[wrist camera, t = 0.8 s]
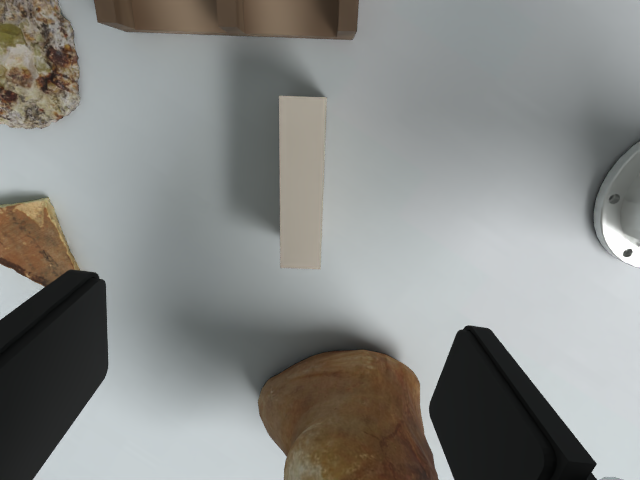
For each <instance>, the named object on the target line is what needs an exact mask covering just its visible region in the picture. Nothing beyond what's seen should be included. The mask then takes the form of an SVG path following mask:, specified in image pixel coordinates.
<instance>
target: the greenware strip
mask: <svg viewBox="0 0 640 480" xmlns="http://www.w3.org/2000/svg"><path fill="white" fill-rule="evenodd" d="M326 103H327V97H303V96H279V158H280V268H299V269H320V267H321V239H322V212H323V185H324V157H325V130H326Z"/></svg>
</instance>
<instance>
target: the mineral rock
mask: <svg viewBox="0 0 640 480" xmlns="http://www.w3.org/2000/svg"><path fill="white" fill-rule="evenodd" d="M73 33H74V31H73V29H72V27H71V25H70V22H69V21H68V20H66V19H65V18H64V17H63V16H62V15H61V14H60V7H59V5H58V0H0V124H6V125H8V126H9V127H11V128H21V127H23V128H25V129H32V128H36V127H38V128H44V127H47V126H49V125H50V124H51V122H57V121H58V120H59V119H61V118H63V117H64V116H66V115H69V114H70V113H71V111H74V110H75V109H76V107H77V106H78V105H79V102H80V96H79V93H78V91H79V85H78V79H79V66H78V64H77V60H78V56H77V55H76V51H75V49H74V48H75V44H74V42H73V39H74V34H73Z"/></svg>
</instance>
